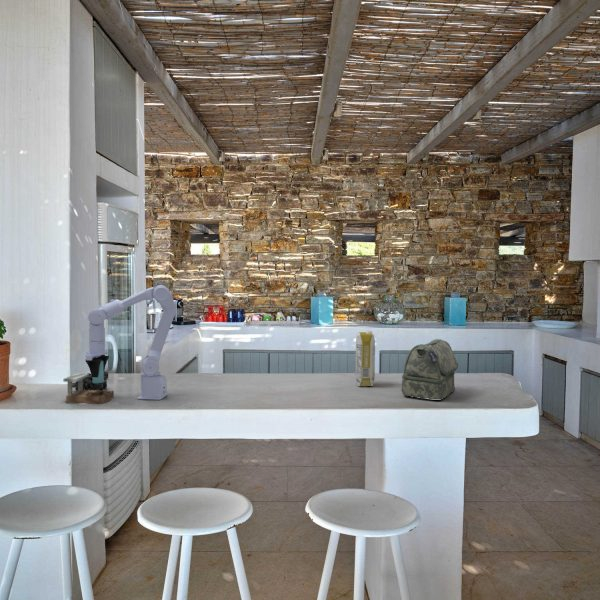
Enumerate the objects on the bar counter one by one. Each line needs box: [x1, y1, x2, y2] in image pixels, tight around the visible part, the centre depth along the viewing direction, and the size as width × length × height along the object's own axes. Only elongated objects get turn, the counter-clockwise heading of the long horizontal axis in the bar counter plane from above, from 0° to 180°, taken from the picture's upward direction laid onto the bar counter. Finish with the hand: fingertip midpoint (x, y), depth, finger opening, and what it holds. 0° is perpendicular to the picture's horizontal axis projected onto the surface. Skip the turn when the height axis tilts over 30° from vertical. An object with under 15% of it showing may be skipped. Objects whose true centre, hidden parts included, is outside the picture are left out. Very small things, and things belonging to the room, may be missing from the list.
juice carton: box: [354, 330, 376, 387], centre depth 241 cm, size 9×8×24 cm
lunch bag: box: [401, 338, 459, 399], centre depth 226 cm, size 26×18×22 cm
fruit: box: [72, 370, 110, 392], centre depth 227 cm, size 9×8×15 cm
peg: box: [92, 361, 105, 383], centre depth 211 cm, size 4×4×8 cm
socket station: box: [63, 373, 115, 405], centre depth 212 cm, size 16×10×9 cm, turn 85°
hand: (97, 376), depth 211 cm, fingers closed on peg, 4 cm apart
